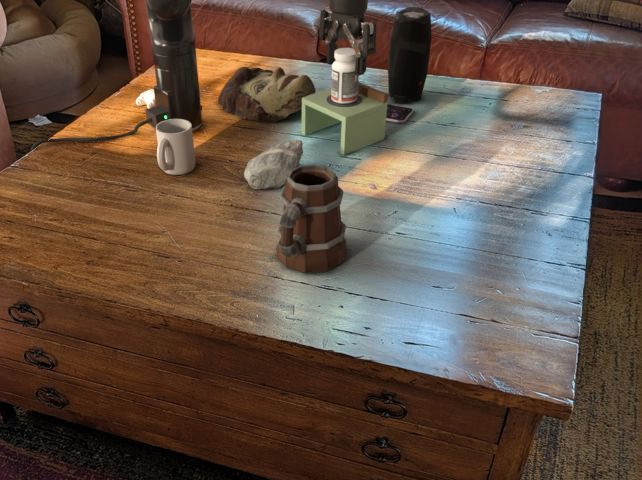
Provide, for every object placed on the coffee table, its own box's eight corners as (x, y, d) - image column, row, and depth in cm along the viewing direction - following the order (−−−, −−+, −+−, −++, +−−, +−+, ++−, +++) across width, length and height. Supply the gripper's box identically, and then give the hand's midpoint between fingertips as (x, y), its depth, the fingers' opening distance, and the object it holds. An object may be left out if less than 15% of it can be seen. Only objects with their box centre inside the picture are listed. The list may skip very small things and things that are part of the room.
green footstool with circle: (344, 155, 154) (346, 109, 147) (301, 133, 162) (301, 89, 156) (384, 138, 159) (388, 93, 153) (341, 119, 168) (343, 75, 161)
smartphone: (354, 98, 174) (414, 108, 169) (354, 100, 175) (414, 111, 170) (342, 110, 170) (403, 121, 164) (342, 112, 170) (403, 123, 165)
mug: (296, 230, 132) (296, 152, 122) (357, 247, 127) (362, 168, 117) (252, 274, 122) (248, 193, 112) (316, 294, 117) (318, 212, 107)
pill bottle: (360, 95, 156) (363, 48, 150) (353, 105, 153) (356, 57, 146) (334, 92, 158) (336, 45, 151) (327, 102, 154) (328, 54, 147)
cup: (202, 163, 153) (198, 122, 147) (177, 184, 146) (171, 142, 140) (173, 156, 155) (168, 116, 149) (147, 177, 148) (140, 135, 142)
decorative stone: (290, 194, 142) (290, 166, 138) (240, 190, 144) (238, 162, 140) (303, 164, 151) (303, 137, 147) (256, 160, 153) (254, 133, 149)
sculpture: (281, 88, 157) (198, 64, 169) (282, 131, 163) (202, 105, 175) (338, 61, 169) (256, 41, 181) (336, 102, 175) (258, 80, 187)
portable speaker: (430, 101, 174) (441, 15, 161) (393, 106, 172) (401, 19, 159) (415, 88, 180) (424, 4, 167) (380, 93, 178) (386, 8, 165)
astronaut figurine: (129, 103, 177) (127, 90, 175) (165, 88, 184) (164, 76, 182) (152, 112, 173) (151, 99, 171) (189, 96, 180) (188, 84, 177)
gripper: (389, -13, 138) (382, 74, 148) (338, -27, 146) (335, 55, 157) (360, -5, 134) (355, 83, 145) (310, -20, 143) (309, 64, 153)
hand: (345, 69), depth 151 cm, fingers open, 8 cm apart
